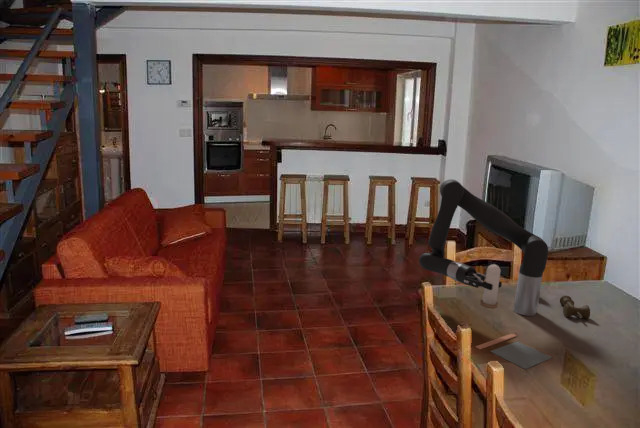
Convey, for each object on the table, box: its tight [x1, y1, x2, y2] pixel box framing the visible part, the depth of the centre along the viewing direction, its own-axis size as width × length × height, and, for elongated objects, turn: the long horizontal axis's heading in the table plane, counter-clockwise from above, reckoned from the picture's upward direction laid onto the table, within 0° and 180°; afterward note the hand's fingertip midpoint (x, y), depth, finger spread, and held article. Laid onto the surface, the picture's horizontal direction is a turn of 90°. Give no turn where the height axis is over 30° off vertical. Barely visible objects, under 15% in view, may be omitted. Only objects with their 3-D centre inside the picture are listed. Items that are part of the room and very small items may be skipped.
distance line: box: [475, 333, 517, 350], centre depth 195 cm, size 22×2×1 cm, turn 126°
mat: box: [490, 341, 553, 370], centre depth 186 cm, size 16×14×1 cm
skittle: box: [480, 263, 501, 310], centre depth 201 cm, size 6×6×16 cm
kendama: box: [559, 295, 591, 320], centre depth 226 cm, size 6×10×20 cm
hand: (496, 286), depth 199 cm, fingers closed on skittle, 5 cm apart
